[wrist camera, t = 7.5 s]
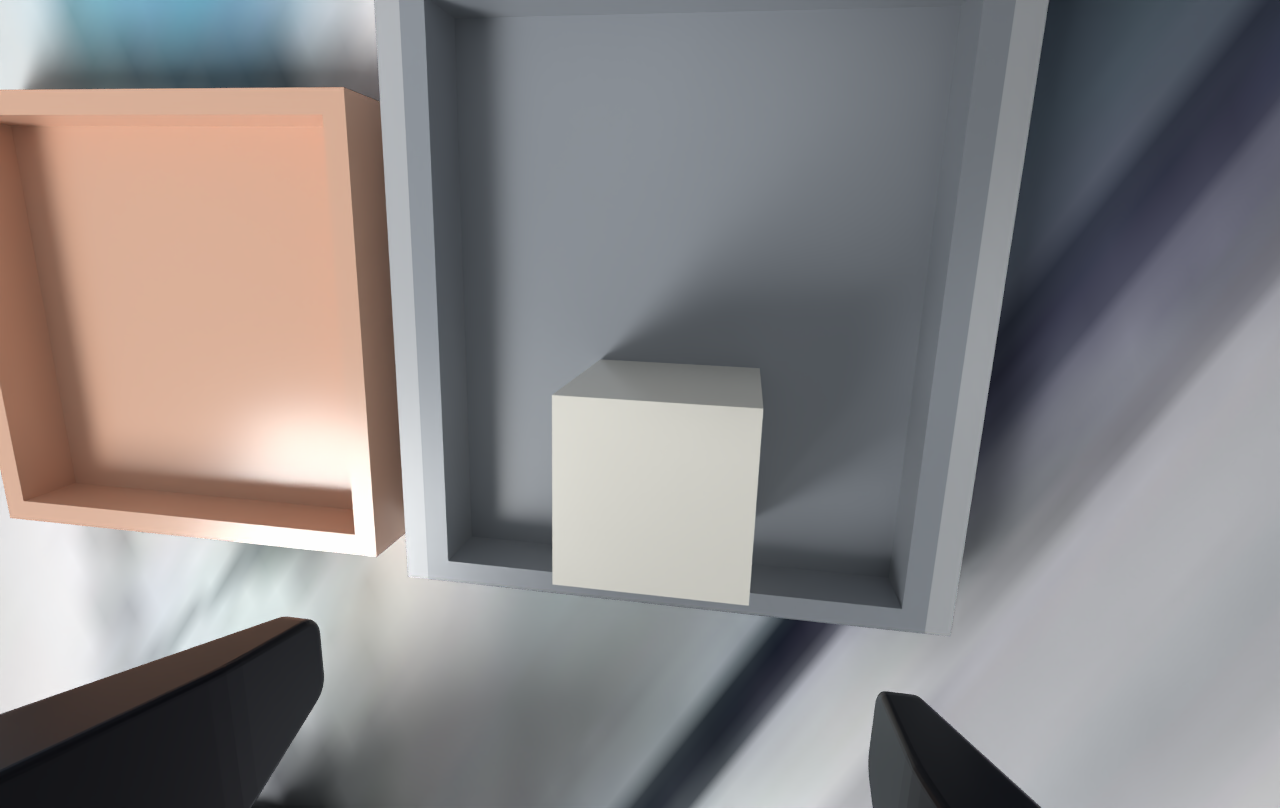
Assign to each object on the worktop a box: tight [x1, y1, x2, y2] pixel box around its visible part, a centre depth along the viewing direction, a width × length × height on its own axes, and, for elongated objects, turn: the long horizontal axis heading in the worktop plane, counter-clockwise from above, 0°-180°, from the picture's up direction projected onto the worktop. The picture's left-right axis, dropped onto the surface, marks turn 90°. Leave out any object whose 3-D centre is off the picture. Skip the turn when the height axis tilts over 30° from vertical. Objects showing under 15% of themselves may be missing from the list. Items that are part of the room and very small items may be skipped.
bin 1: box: [0, 87, 405, 557], centre depth 19 cm, size 12×12×2 cm
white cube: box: [552, 359, 763, 606], centre depth 16 cm, size 4×4×4 cm
